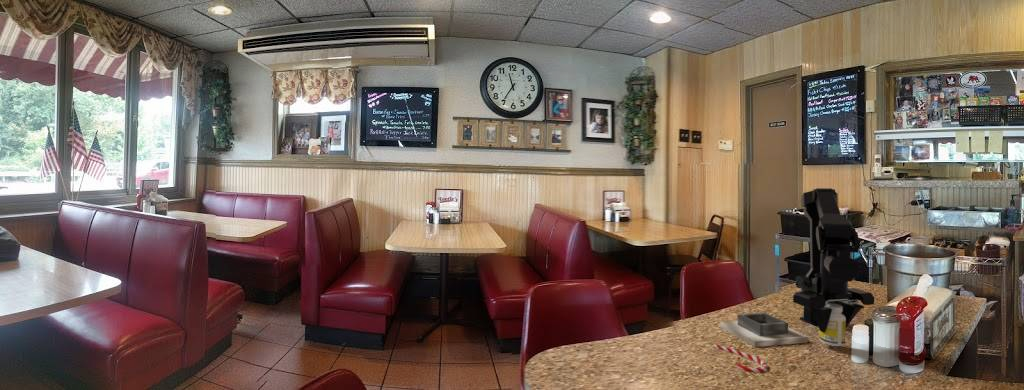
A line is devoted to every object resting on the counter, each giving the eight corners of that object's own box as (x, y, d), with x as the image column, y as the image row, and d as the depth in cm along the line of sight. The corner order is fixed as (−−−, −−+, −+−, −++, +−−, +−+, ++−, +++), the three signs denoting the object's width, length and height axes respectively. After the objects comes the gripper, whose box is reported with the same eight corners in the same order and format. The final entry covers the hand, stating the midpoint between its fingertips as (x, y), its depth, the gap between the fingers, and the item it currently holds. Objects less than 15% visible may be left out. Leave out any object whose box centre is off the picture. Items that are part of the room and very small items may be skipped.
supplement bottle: (836, 338, 110) (837, 302, 110) (850, 347, 105) (851, 308, 104) (814, 337, 111) (815, 301, 110) (827, 346, 106) (828, 308, 105)
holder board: (768, 323, 125) (768, 308, 125) (808, 342, 112) (808, 325, 111) (719, 327, 123) (720, 312, 123) (754, 347, 109) (755, 330, 109)
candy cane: (722, 341, 111) (777, 365, 97) (722, 346, 111) (777, 370, 97) (700, 346, 108) (753, 371, 94) (700, 351, 108) (753, 377, 94)
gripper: (836, 262, 116) (834, 317, 117) (777, 265, 113) (775, 322, 114) (877, 272, 105) (874, 332, 106) (812, 276, 102) (810, 338, 103)
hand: (832, 330), depth 108 cm, fingers closed on supplement bottle, 5 cm apart
